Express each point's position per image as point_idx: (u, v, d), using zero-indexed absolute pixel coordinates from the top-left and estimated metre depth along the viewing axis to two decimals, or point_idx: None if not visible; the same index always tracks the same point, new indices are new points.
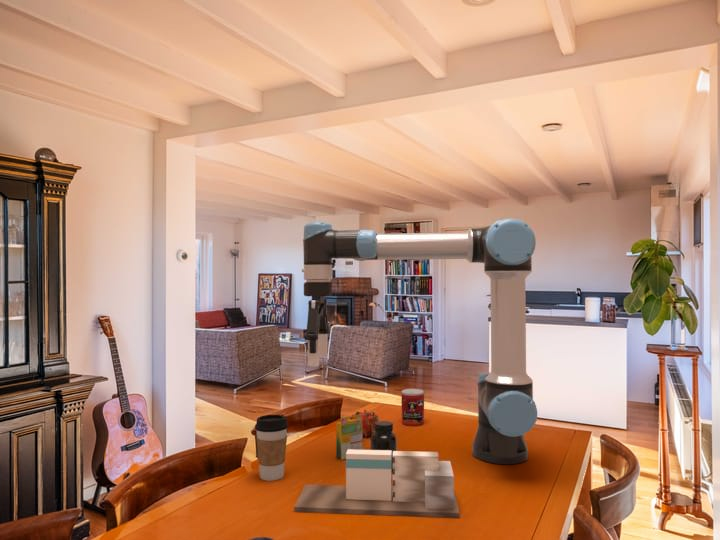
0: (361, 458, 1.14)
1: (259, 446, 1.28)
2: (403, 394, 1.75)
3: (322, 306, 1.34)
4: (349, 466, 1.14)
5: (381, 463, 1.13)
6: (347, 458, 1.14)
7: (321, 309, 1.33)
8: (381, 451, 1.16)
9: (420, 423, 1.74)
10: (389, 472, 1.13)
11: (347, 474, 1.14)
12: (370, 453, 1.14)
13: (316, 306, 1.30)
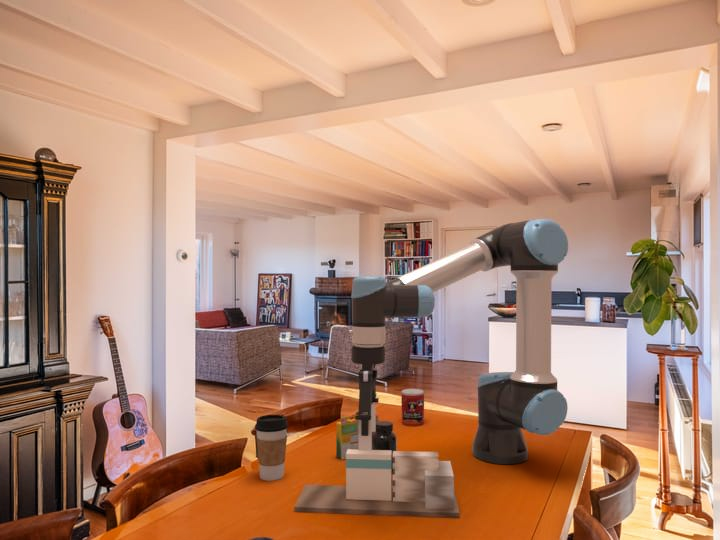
0: (361, 458, 1.14)
1: (259, 446, 1.28)
2: (403, 394, 1.75)
3: (374, 376, 1.13)
4: (349, 466, 1.14)
5: (381, 463, 1.13)
6: (347, 458, 1.14)
7: (373, 380, 1.12)
8: (381, 451, 1.16)
9: (420, 423, 1.74)
10: (389, 472, 1.13)
11: (347, 474, 1.14)
12: (370, 453, 1.14)
13: (369, 379, 1.08)
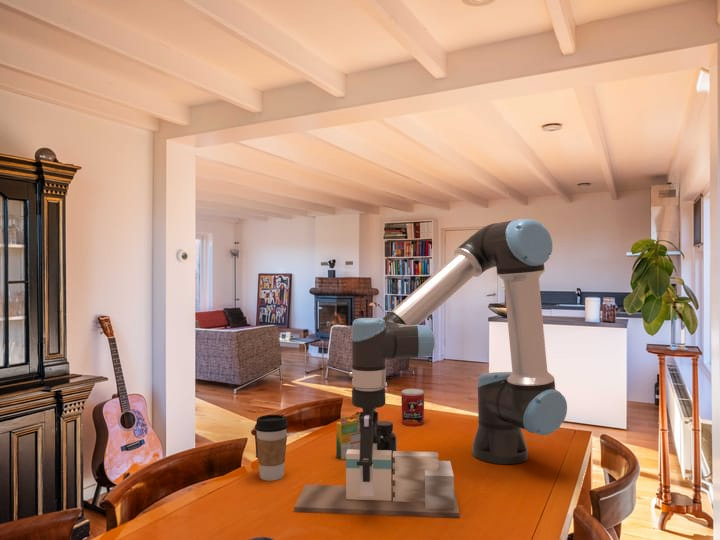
0: None
1: (259, 446, 1.28)
2: (403, 394, 1.75)
3: (375, 419, 1.13)
4: (349, 466, 1.14)
5: (381, 463, 1.13)
6: (347, 458, 1.14)
7: (374, 423, 1.12)
8: (381, 451, 1.16)
9: (420, 423, 1.74)
10: (389, 472, 1.13)
11: (347, 474, 1.14)
12: None
13: (370, 424, 1.08)
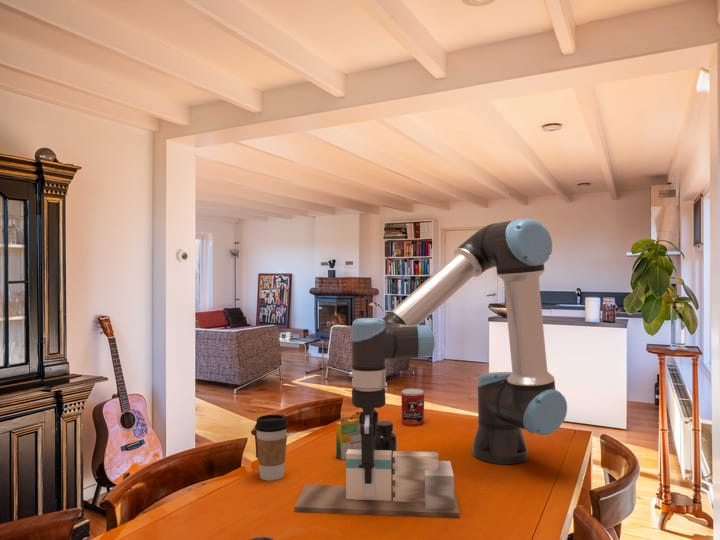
0: (361, 458, 1.14)
1: (259, 446, 1.28)
2: (403, 394, 1.75)
3: (375, 421, 1.13)
4: (349, 466, 1.14)
5: (381, 463, 1.13)
6: (347, 458, 1.14)
7: (374, 426, 1.13)
8: (381, 451, 1.16)
9: (420, 423, 1.74)
10: (389, 472, 1.13)
11: (347, 474, 1.14)
12: None
13: (370, 432, 1.09)
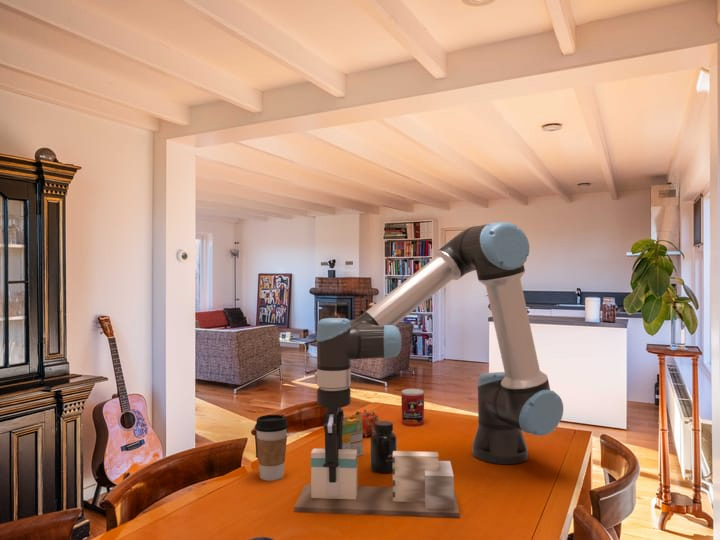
0: None
1: (259, 446, 1.28)
2: (403, 394, 1.75)
3: (339, 420, 1.14)
4: (314, 465, 1.15)
5: (345, 462, 1.14)
6: (312, 457, 1.15)
7: (339, 425, 1.14)
8: (346, 450, 1.16)
9: (420, 423, 1.74)
10: (354, 471, 1.14)
11: (312, 473, 1.15)
12: None
13: (333, 431, 1.10)
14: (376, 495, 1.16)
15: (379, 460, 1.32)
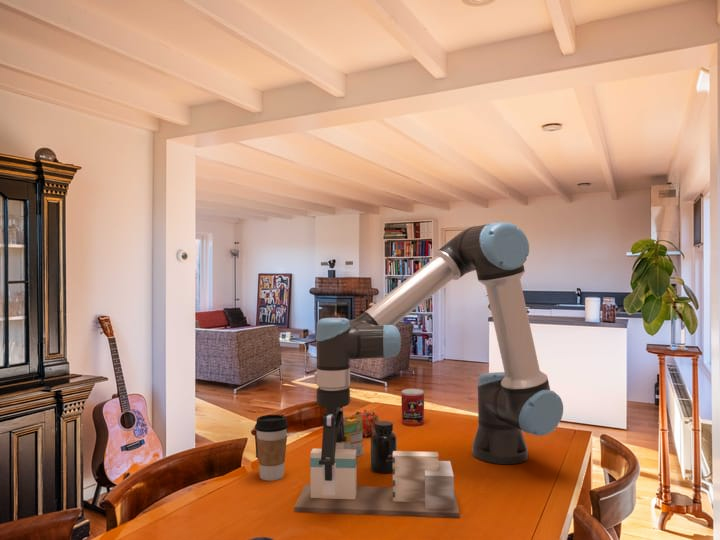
0: None
1: (259, 446, 1.28)
2: (403, 394, 1.75)
3: (339, 418, 1.14)
4: (313, 465, 1.15)
5: (345, 462, 1.14)
6: (311, 457, 1.15)
7: (338, 423, 1.13)
8: (346, 450, 1.16)
9: (420, 423, 1.74)
10: (353, 471, 1.14)
11: (311, 473, 1.15)
12: (335, 452, 1.15)
13: (332, 423, 1.09)
14: (376, 495, 1.16)
15: (379, 460, 1.32)
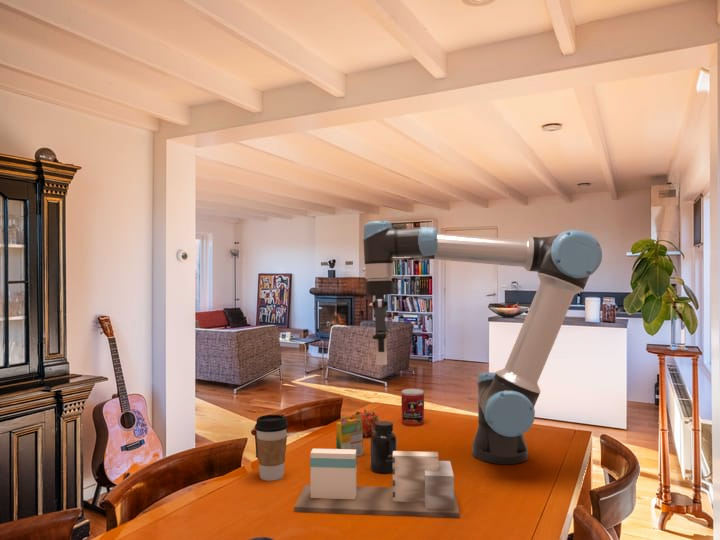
0: (325, 457, 1.15)
1: (259, 446, 1.28)
2: (403, 394, 1.75)
3: (385, 305, 1.34)
4: (313, 465, 1.15)
5: (345, 462, 1.14)
6: (311, 457, 1.15)
7: (385, 308, 1.33)
8: (346, 450, 1.16)
9: (420, 423, 1.74)
10: (353, 471, 1.14)
11: (311, 473, 1.15)
12: (335, 452, 1.15)
13: (383, 305, 1.29)
14: (376, 495, 1.16)
15: (379, 460, 1.32)
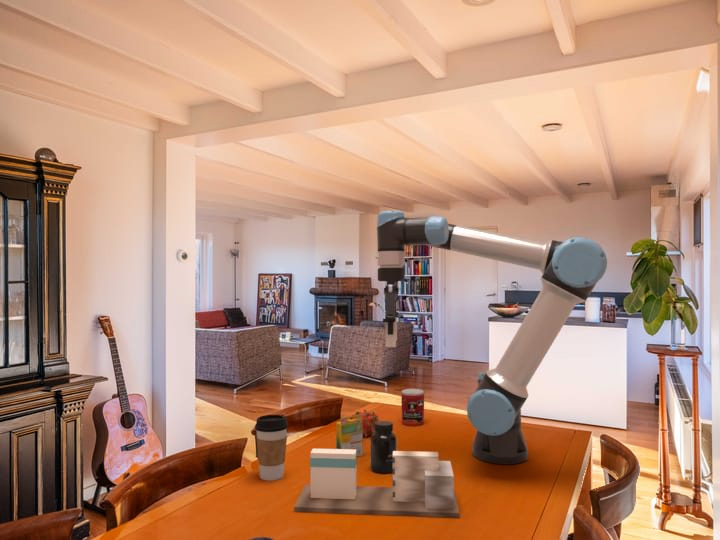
0: (325, 457, 1.15)
1: (259, 446, 1.28)
2: (403, 394, 1.75)
3: (396, 290, 1.41)
4: (313, 465, 1.15)
5: (345, 462, 1.14)
6: (311, 457, 1.15)
7: (396, 293, 1.40)
8: (346, 450, 1.16)
9: (420, 423, 1.74)
10: (353, 471, 1.14)
11: (311, 473, 1.15)
12: (335, 452, 1.15)
13: (393, 290, 1.36)
14: (376, 495, 1.16)
15: (379, 460, 1.32)
